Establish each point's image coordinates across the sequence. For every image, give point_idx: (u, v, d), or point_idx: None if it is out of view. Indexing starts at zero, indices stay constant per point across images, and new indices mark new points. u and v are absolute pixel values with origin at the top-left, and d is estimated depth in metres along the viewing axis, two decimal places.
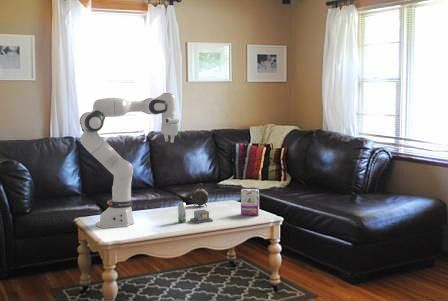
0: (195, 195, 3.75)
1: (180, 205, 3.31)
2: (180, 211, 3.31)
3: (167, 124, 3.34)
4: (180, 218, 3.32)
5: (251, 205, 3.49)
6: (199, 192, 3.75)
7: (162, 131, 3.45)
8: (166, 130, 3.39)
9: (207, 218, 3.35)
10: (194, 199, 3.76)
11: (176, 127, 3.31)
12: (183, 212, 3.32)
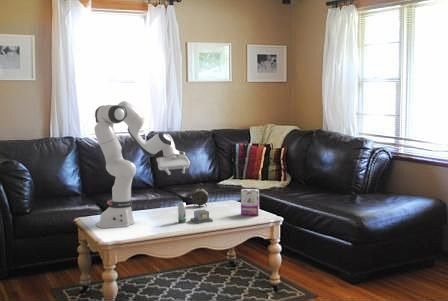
0: (195, 195, 3.75)
1: (180, 205, 3.31)
2: (180, 211, 3.31)
3: (180, 156, 3.49)
4: (180, 218, 3.32)
5: (251, 205, 3.49)
6: (199, 192, 3.75)
7: (165, 165, 3.42)
8: (174, 162, 3.46)
9: (207, 218, 3.35)
10: (194, 199, 3.76)
11: None
12: (183, 212, 3.32)
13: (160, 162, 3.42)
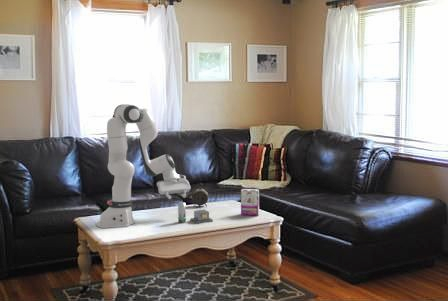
0: (195, 195, 3.75)
1: (180, 205, 3.31)
2: (180, 211, 3.31)
3: (181, 180, 3.46)
4: (180, 218, 3.32)
5: (251, 205, 3.49)
6: (199, 192, 3.75)
7: (165, 189, 3.39)
8: (175, 186, 3.43)
9: (207, 218, 3.35)
10: (194, 199, 3.76)
11: None
12: (183, 212, 3.32)
13: (160, 186, 3.39)
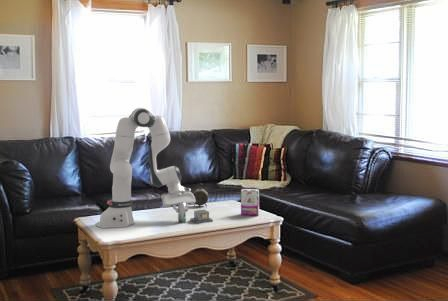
0: (195, 195, 3.75)
1: (180, 205, 3.31)
2: (180, 211, 3.31)
3: (185, 192, 3.39)
4: (180, 218, 3.32)
5: (251, 205, 3.49)
6: (199, 192, 3.75)
7: (170, 202, 3.32)
8: (180, 199, 3.36)
9: (207, 218, 3.35)
10: None
11: None
12: (183, 212, 3.32)
13: (165, 199, 3.32)
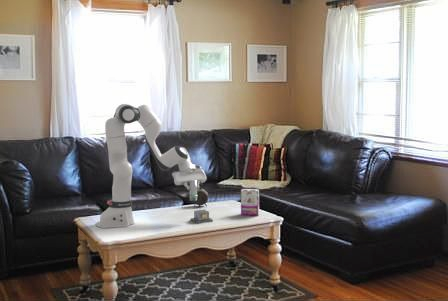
0: None
1: (191, 182, 3.31)
2: (191, 189, 3.32)
3: (196, 170, 3.39)
4: (192, 196, 3.32)
5: (251, 205, 3.49)
6: (199, 192, 3.75)
7: (181, 179, 3.33)
8: (191, 177, 3.36)
9: (207, 218, 3.35)
10: None
11: None
12: (194, 190, 3.32)
13: (176, 177, 3.33)
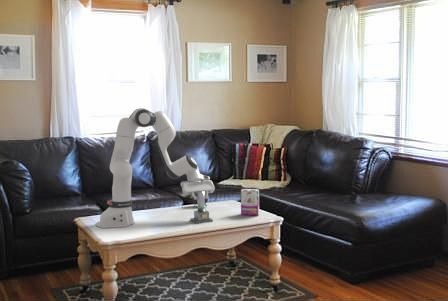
0: (195, 195, 3.75)
1: (199, 194, 3.33)
2: (199, 200, 3.34)
3: (205, 180, 3.42)
4: (200, 207, 3.34)
5: (251, 205, 3.49)
6: None
7: (189, 190, 3.35)
8: (199, 187, 3.38)
9: (207, 218, 3.35)
10: (194, 199, 3.76)
11: None
12: (202, 201, 3.34)
13: (185, 187, 3.35)
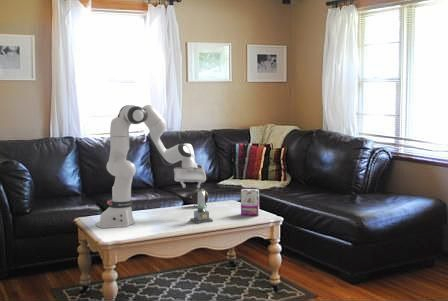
0: (195, 195, 3.75)
1: (199, 194, 3.33)
2: (200, 200, 3.34)
3: (198, 169, 3.49)
4: (200, 207, 3.34)
5: (251, 205, 3.49)
6: None
7: (181, 177, 3.43)
8: (191, 175, 3.46)
9: (207, 218, 3.35)
10: (194, 199, 3.76)
11: None
12: (203, 201, 3.34)
13: (177, 173, 3.43)
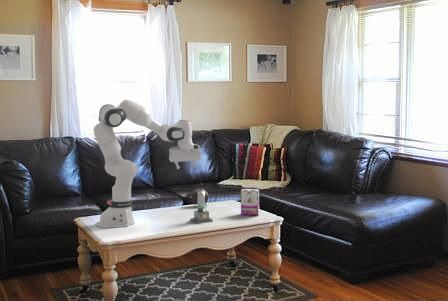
0: (195, 195, 3.75)
1: (199, 194, 3.33)
2: (200, 200, 3.34)
3: (194, 150, 3.42)
4: (200, 207, 3.34)
5: (251, 205, 3.49)
6: None
7: (176, 159, 3.38)
8: (186, 157, 3.41)
9: (207, 218, 3.35)
10: (194, 199, 3.76)
11: None
12: (203, 201, 3.34)
13: (172, 156, 3.37)
